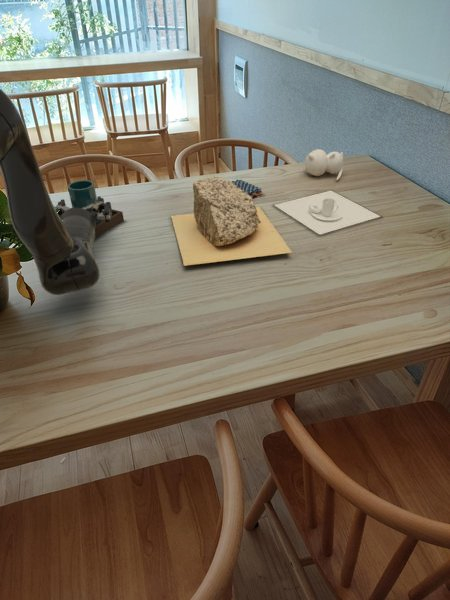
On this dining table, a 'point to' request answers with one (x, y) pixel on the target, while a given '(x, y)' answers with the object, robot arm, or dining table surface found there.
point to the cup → (82, 194)
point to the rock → (224, 226)
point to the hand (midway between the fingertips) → (81, 201)
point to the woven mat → (248, 188)
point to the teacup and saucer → (326, 212)
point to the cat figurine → (324, 163)
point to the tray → (109, 223)
